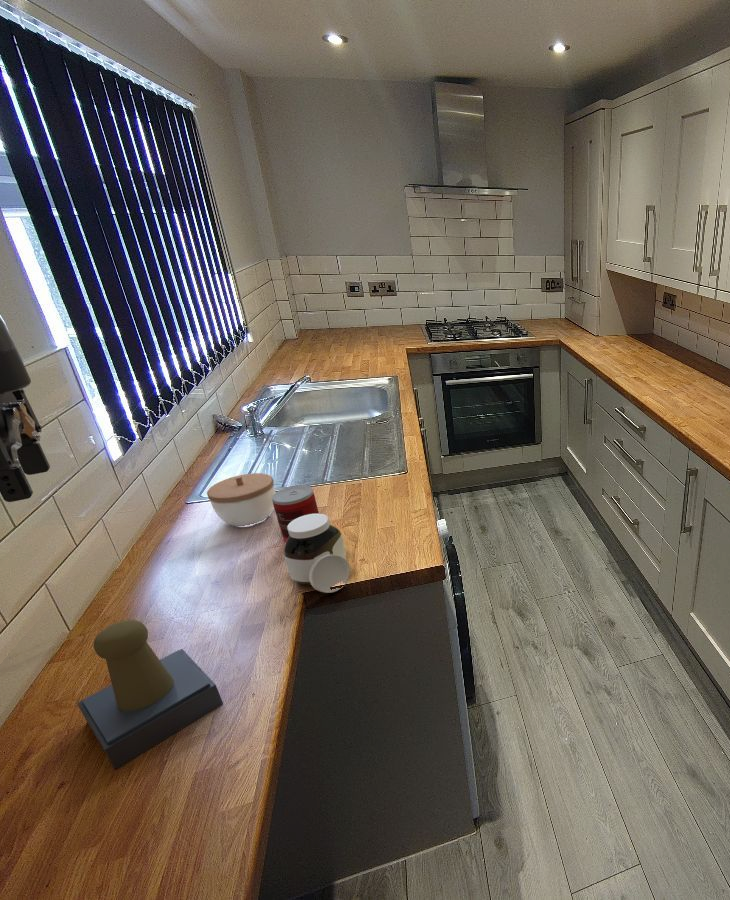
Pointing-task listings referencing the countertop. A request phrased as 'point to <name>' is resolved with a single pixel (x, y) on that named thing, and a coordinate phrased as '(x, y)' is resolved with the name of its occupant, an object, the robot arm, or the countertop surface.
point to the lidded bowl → (243, 498)
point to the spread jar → (316, 553)
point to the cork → (132, 665)
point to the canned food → (293, 505)
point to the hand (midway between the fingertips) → (30, 485)
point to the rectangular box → (151, 711)
